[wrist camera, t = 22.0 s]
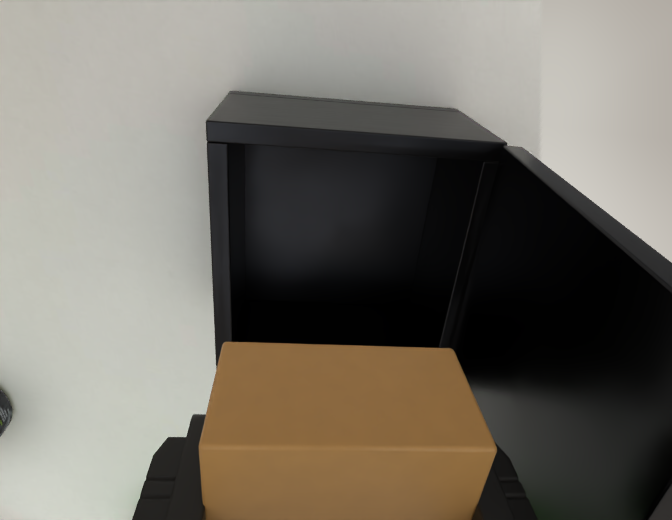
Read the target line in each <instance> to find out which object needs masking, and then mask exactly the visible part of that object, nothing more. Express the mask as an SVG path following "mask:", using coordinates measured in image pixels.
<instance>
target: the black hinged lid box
mask: <svg viewBox="0 0 672 520" xmlns="http://www.w3.org/2000/svg"><path fill="white" fill-rule="evenodd" d="M206 136H207V141H208V142H207V160H208V183H209V207H210V231H211V254H212V278H213V302H214V325H215V349H216V366H218V361H219V357H220V353H221V348H222V345H223V343H224V342H257V343H290V344H324V345H357V346H391V347H424V348H451V346H452V342H453V338H454V334H455V330H456V326H457V322H458V319H459V315H460V311H461V307H462V303H463V299H464V295H465V291H466V288H467V284H468V280H469V276H470V272H471V268H472V264H473V260H474V257H475V253H476V249H477V245H478V241H479V237H480V233H481V229H482V226H483V222H484V218H485V214H486V210H487V206H488V202H489V198H490V195H491V191H492V187H493V183H494V179H495V175H496V171H497V167H498V164H499V160H500V156H501V152H502V148H503V146H507V143H506V142H505V141H503V140H502V139H500V138H499V137H497V136H496V135H495V134H493V133H492V132H490V131H489V130H487V129H486V128H484V127H483V126H481V125H480V124H478V123H477V122H475V121H474V120H472V119H471V118H469V117H468V116H466V115H465V114H463V113H462V112H460V111H459V110H457V109H450V108H438V107H425V106H413V105H400V104H388V103H376V102H363V101H351V100H338V99H326V98H314V97H301V96H289V95H277V94H264V93H252V92H239V91H230V92H229V93H228V95H227V96H226V97H225V98H224V100H223V101H222V102H221V103H220V104H219V106H218V107H217V108H216V109H215V111H214V112H213V113H212V114H211V116H210V117H209V118H208V119H207V120H206ZM216 370H217V367H216Z"/></svg>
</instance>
